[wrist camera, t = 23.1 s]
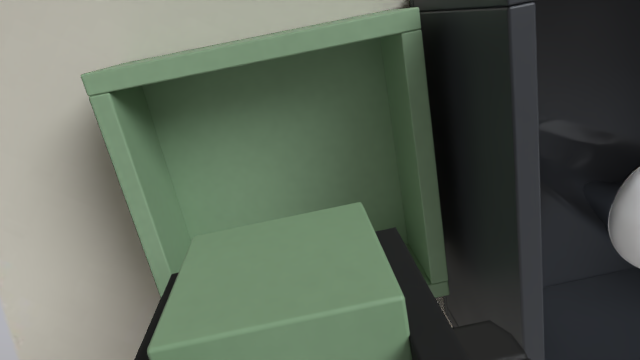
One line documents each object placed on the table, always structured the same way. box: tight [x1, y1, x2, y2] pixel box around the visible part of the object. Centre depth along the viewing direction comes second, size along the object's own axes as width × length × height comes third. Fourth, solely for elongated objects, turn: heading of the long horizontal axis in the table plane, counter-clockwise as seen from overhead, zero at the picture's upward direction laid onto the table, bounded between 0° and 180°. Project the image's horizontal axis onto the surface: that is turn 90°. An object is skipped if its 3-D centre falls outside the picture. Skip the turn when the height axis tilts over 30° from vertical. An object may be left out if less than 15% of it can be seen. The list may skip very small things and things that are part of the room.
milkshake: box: [539, 119, 640, 268], centre depth 19 cm, size 5×5×10 cm
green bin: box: [81, 7, 450, 298], centre depth 21 cm, size 13×13×5 cm
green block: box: [147, 202, 412, 360], centre depth 10 cm, size 4×4×4 cm
